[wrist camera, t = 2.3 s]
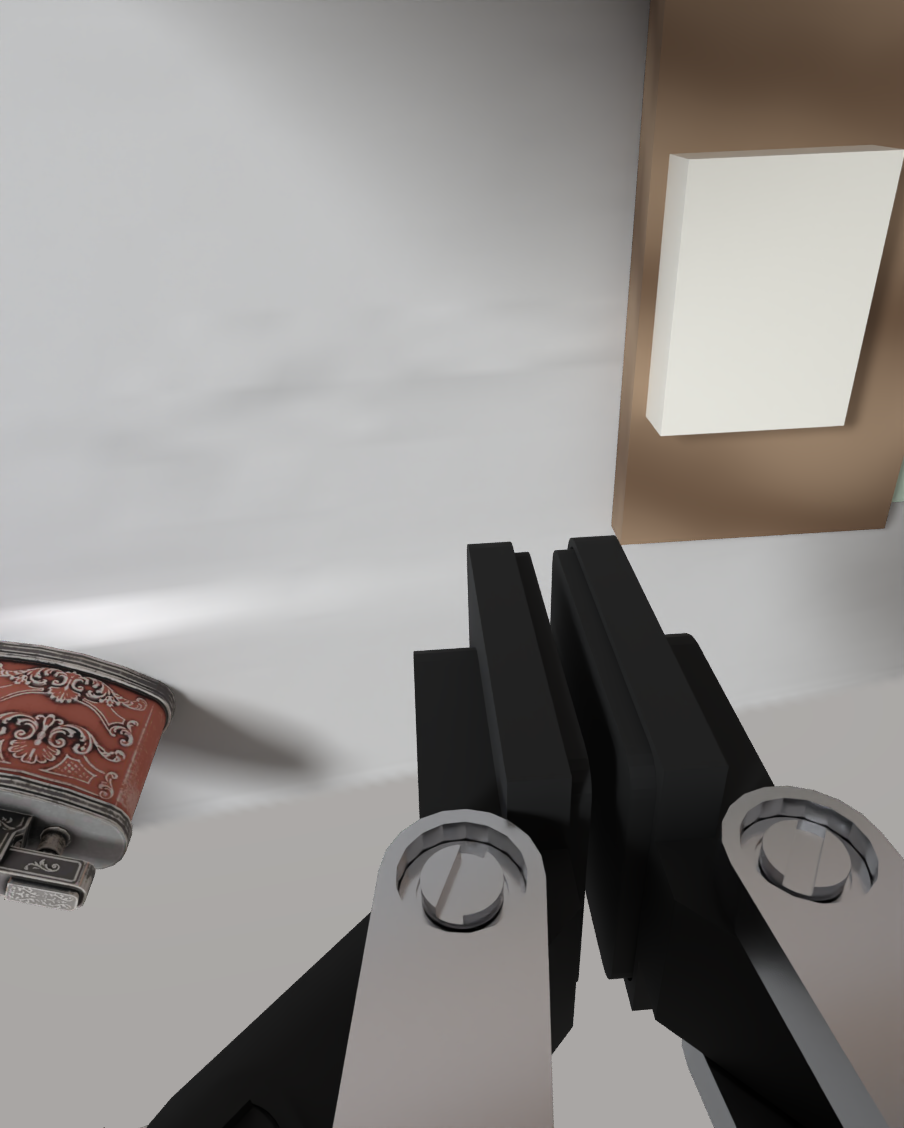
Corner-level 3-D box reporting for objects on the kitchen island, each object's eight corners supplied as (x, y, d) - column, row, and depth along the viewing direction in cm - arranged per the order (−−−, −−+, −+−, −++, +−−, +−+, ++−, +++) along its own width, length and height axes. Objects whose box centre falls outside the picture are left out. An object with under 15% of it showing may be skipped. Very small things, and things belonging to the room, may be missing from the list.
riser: (654, -54, 22) (670, -62, 21) (1009, -66, 23) (1046, -75, 22) (611, 525, 32) (620, 544, 30) (864, 510, 32) (884, 528, 31)
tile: (669, 153, 24) (688, 159, 22) (872, 144, 24) (905, 149, 22) (645, 416, 28) (660, 436, 26) (818, 406, 28) (843, 425, 27)
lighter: (-31, 690, 34) (-175, 899, 25) (-22, 626, 32) (-172, 826, 24) (166, 737, 36) (95, 946, 27) (183, 679, 34) (114, 882, 26)
